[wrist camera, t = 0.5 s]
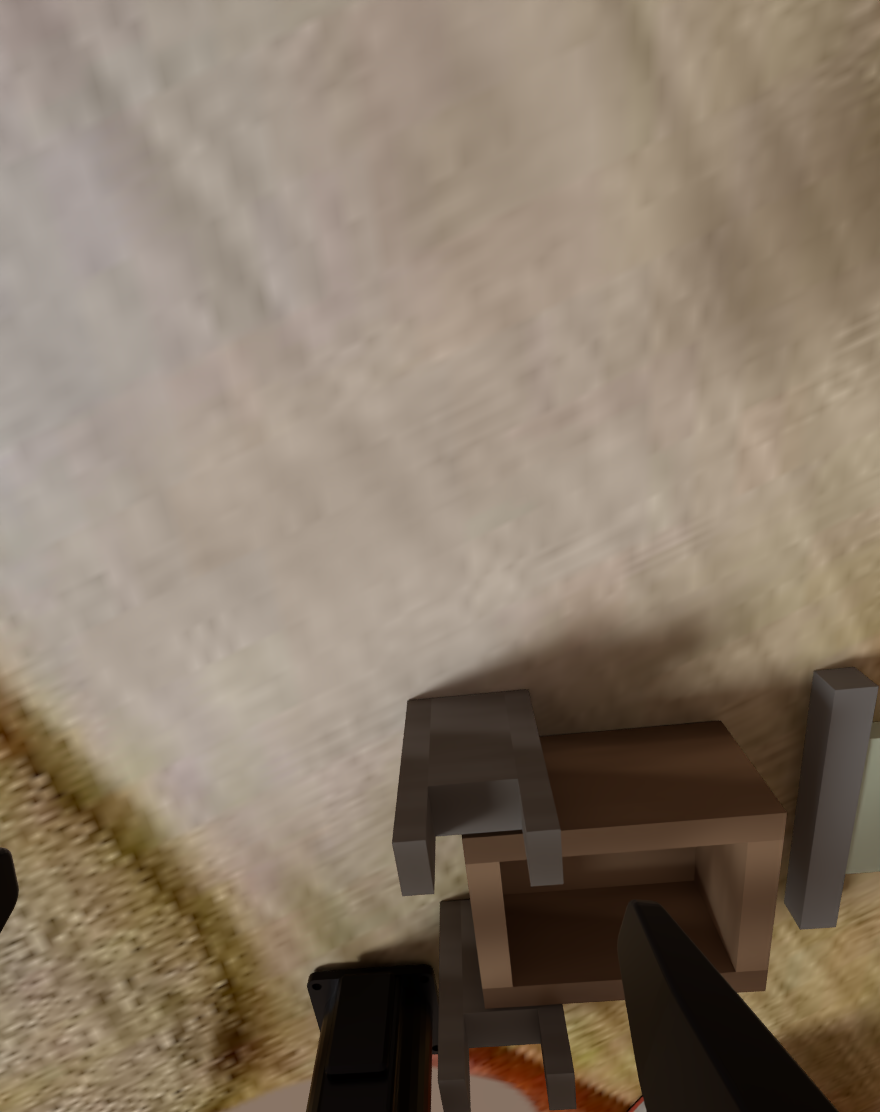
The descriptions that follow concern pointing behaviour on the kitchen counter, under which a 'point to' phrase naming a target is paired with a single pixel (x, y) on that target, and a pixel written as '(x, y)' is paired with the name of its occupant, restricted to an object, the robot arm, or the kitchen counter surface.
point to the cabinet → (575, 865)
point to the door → (835, 797)
